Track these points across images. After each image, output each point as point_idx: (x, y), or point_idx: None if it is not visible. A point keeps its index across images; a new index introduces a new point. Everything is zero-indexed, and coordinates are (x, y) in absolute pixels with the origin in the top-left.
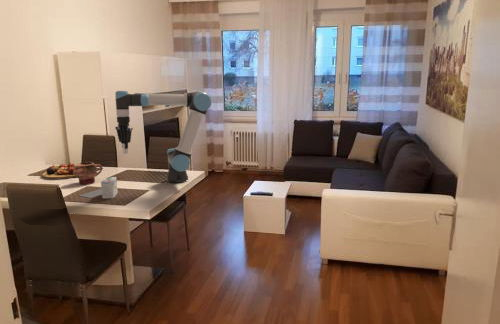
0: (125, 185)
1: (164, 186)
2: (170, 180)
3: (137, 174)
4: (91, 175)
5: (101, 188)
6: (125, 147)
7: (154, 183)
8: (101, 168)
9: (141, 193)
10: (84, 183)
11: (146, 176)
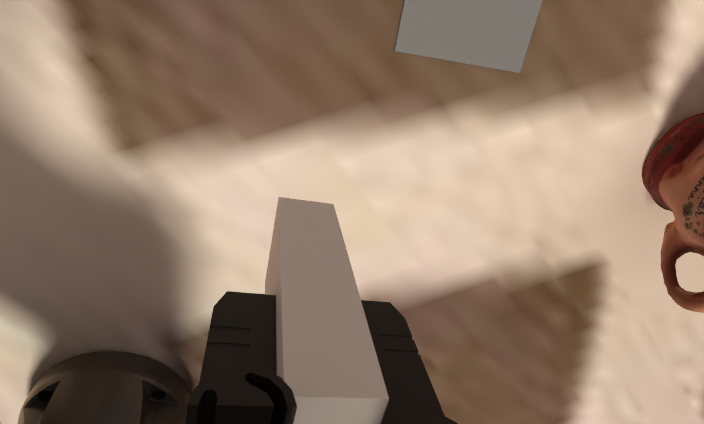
0: (391, 198)
1: (85, 274)
2: (104, 364)
3: (460, 405)
4: (695, 174)
5: (520, 66)
6: (256, 318)
7: None
8: (678, 292)
9: (107, 50)
10: (693, 117)
11: None
